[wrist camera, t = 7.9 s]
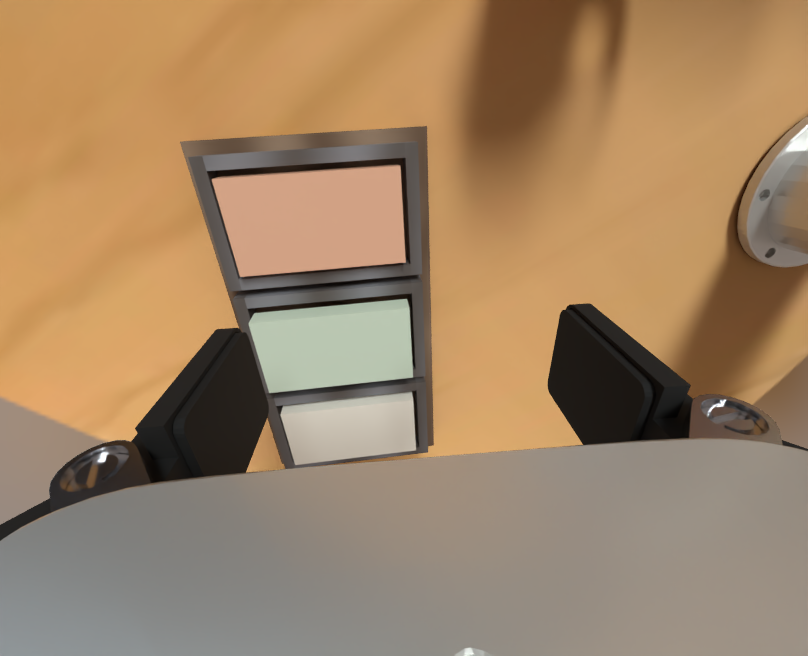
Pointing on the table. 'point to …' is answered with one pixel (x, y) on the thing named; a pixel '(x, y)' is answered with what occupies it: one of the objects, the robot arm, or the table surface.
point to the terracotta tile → (313, 219)
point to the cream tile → (350, 427)
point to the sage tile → (333, 345)
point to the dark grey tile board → (331, 283)
